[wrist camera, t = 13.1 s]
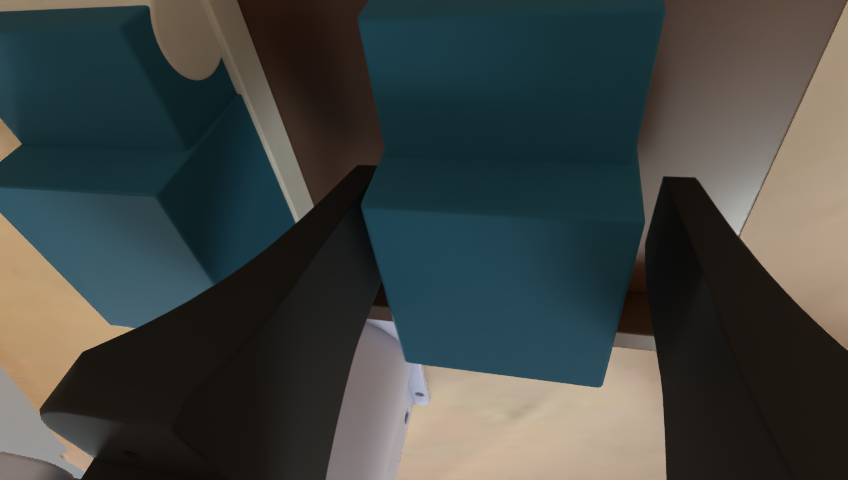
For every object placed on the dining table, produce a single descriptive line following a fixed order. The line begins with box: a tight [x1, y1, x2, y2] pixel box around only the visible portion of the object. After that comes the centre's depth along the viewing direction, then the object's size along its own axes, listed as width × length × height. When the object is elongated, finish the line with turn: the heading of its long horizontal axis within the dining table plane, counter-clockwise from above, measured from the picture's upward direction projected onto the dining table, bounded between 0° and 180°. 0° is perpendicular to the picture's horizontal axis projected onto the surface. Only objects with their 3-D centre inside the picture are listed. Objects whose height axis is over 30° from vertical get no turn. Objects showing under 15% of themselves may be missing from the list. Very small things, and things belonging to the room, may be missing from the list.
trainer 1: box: [0, 0, 314, 328], centre depth 12 cm, size 8×5×4 cm, turn 7°
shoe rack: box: [237, 0, 848, 351], centre depth 14 cm, size 20×12×6 cm, turn 98°
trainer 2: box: [357, 0, 666, 387], centre depth 10 cm, size 8×5×4 cm, turn 7°
